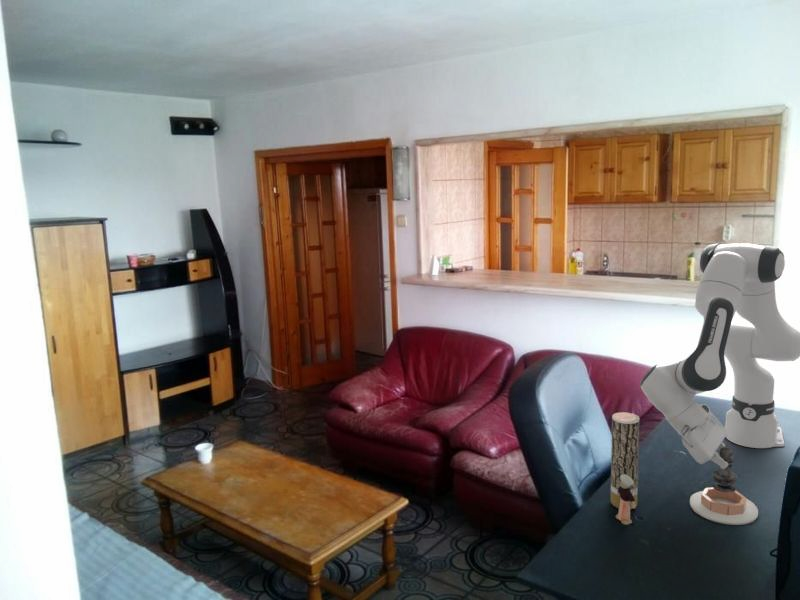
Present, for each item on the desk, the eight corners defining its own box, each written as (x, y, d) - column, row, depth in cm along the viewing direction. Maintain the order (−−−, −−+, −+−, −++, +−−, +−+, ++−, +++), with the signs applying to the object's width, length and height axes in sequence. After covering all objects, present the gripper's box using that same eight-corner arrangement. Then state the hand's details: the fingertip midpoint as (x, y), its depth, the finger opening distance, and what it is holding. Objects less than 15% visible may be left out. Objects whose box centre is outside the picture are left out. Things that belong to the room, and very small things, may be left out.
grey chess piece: (739, 493, 161) (742, 450, 159) (714, 492, 162) (717, 448, 160) (732, 483, 166) (735, 440, 164) (708, 481, 168) (711, 439, 165)
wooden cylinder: (606, 505, 169) (607, 418, 165) (617, 495, 174) (618, 410, 170) (630, 513, 165) (633, 424, 160) (641, 503, 170) (643, 416, 165)
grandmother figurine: (608, 515, 164) (609, 470, 162) (619, 512, 166) (620, 467, 163) (629, 530, 157) (631, 483, 155) (641, 526, 159) (642, 479, 157)
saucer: (698, 488, 176) (698, 476, 176) (762, 504, 167) (763, 491, 166) (682, 512, 164) (683, 500, 163) (751, 531, 154) (752, 518, 154)
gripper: (688, 426, 157) (729, 472, 153) (707, 402, 173) (745, 443, 169) (669, 439, 160) (708, 485, 156) (689, 414, 176) (726, 455, 172)
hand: (728, 463), depth 163 cm, fingers closed on grey chess piece, 4 cm apart
